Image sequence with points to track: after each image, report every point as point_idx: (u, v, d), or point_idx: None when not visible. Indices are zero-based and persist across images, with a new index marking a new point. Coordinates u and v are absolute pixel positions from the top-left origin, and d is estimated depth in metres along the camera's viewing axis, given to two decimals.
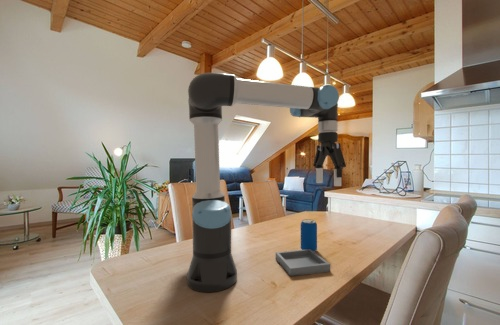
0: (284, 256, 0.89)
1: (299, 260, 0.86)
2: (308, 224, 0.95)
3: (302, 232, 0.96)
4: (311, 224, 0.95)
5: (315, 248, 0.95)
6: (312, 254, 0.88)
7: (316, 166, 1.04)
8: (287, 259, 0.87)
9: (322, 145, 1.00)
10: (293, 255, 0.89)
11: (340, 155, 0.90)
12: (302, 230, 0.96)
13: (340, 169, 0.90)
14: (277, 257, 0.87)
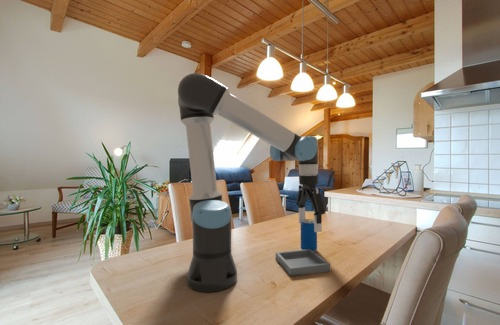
0: (284, 256, 0.89)
1: (299, 260, 0.86)
2: (308, 224, 0.95)
3: (302, 232, 0.96)
4: (311, 224, 0.95)
5: (315, 248, 0.95)
6: (312, 254, 0.88)
7: (298, 206, 1.04)
8: (287, 259, 0.87)
9: (303, 187, 0.99)
10: (293, 255, 0.89)
11: (319, 201, 0.89)
12: (302, 230, 0.96)
13: (320, 215, 0.89)
14: (277, 257, 0.87)
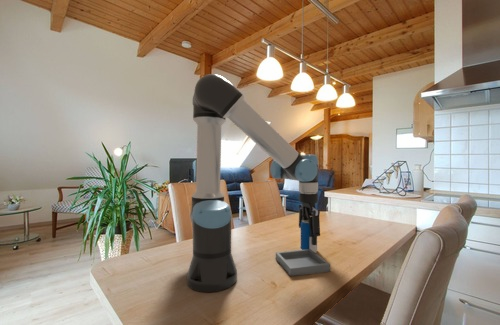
0: (284, 256, 0.89)
1: (299, 260, 0.86)
2: (308, 224, 0.95)
3: (302, 232, 0.96)
4: None
5: None
6: (312, 254, 0.88)
7: None
8: (287, 259, 0.87)
9: (303, 203, 1.00)
10: (293, 255, 0.89)
11: (317, 224, 0.91)
12: (302, 230, 0.96)
13: (315, 237, 0.92)
14: (277, 257, 0.87)
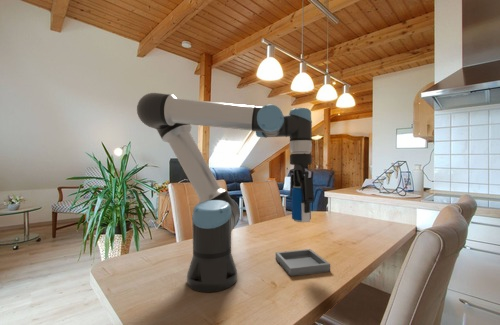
0: (284, 256, 0.89)
1: (299, 260, 0.86)
2: (300, 189, 0.81)
3: (293, 199, 0.82)
4: None
5: None
6: (312, 254, 0.88)
7: None
8: (287, 259, 0.87)
9: (294, 167, 0.86)
10: (293, 255, 0.89)
11: (310, 187, 0.77)
12: (293, 196, 0.82)
13: (308, 203, 0.79)
14: (277, 257, 0.87)
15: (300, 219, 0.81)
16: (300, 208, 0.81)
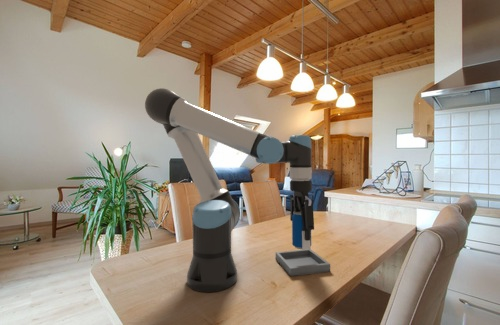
0: (284, 256, 0.89)
1: (299, 260, 0.86)
2: (300, 216, 0.81)
3: (294, 225, 0.82)
4: None
5: None
6: (312, 254, 0.88)
7: None
8: (287, 259, 0.87)
9: (295, 193, 0.86)
10: (293, 255, 0.89)
11: (310, 215, 0.77)
12: (294, 223, 0.82)
13: (308, 231, 0.79)
14: (277, 257, 0.87)
15: (301, 246, 0.81)
16: (300, 235, 0.81)
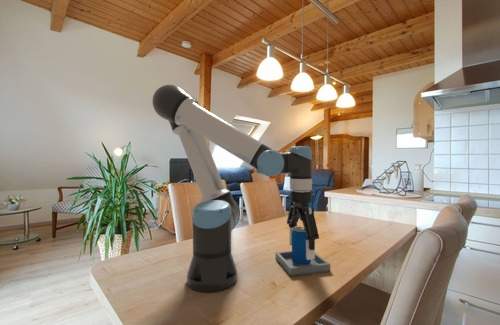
0: (284, 256, 0.89)
1: None
2: (300, 233, 0.81)
3: (293, 242, 0.82)
4: (304, 233, 0.81)
5: (308, 261, 0.81)
6: None
7: (289, 225, 0.90)
8: (287, 259, 0.87)
9: (295, 204, 0.86)
10: None
11: (313, 224, 0.76)
12: (293, 240, 0.82)
13: (313, 240, 0.75)
14: (277, 257, 0.87)
15: (300, 263, 0.81)
16: (300, 252, 0.81)
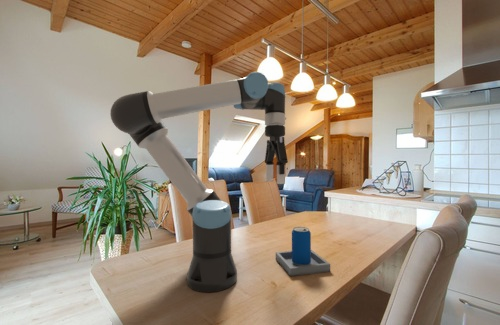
0: (284, 256, 0.89)
1: None
2: (300, 233, 0.81)
3: (293, 242, 0.82)
4: (304, 233, 0.81)
5: (308, 261, 0.81)
6: (312, 254, 0.88)
7: (266, 162, 0.97)
8: (287, 259, 0.87)
9: (270, 140, 0.92)
10: None
11: (283, 150, 0.82)
12: (293, 240, 0.82)
13: (282, 165, 0.82)
14: (277, 257, 0.87)
15: (300, 263, 0.81)
16: (300, 252, 0.81)
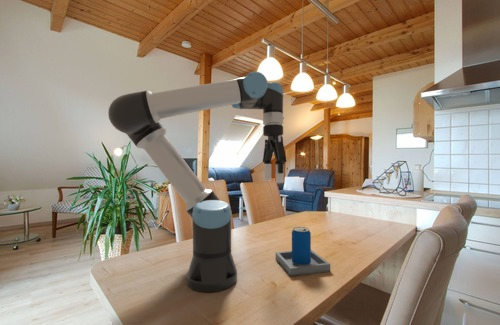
0: (284, 256, 0.89)
1: None
2: (300, 233, 0.81)
3: (293, 242, 0.82)
4: (304, 233, 0.81)
5: (308, 261, 0.81)
6: (312, 254, 0.88)
7: (264, 162, 0.98)
8: (287, 259, 0.87)
9: (268, 139, 0.93)
10: None
11: (281, 149, 0.83)
12: (293, 240, 0.82)
13: (281, 164, 0.83)
14: (277, 257, 0.87)
15: (300, 263, 0.81)
16: (300, 252, 0.81)
